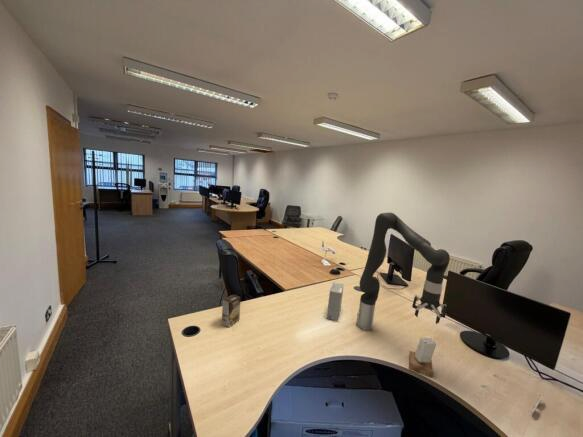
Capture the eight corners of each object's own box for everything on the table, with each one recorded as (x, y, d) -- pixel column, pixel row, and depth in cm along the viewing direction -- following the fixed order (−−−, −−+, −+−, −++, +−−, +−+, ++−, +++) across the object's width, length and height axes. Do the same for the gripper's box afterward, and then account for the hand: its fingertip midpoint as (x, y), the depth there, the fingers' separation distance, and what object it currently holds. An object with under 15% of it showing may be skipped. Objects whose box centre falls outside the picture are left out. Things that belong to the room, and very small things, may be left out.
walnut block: (408, 369, 119) (409, 362, 118) (408, 357, 128) (410, 350, 127) (431, 378, 115) (432, 371, 114) (429, 364, 123) (431, 358, 123)
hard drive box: (337, 322, 154) (341, 293, 151) (326, 319, 156) (329, 291, 153) (340, 310, 169) (344, 283, 165) (330, 307, 171) (333, 281, 167)
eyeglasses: (531, 419, 97) (533, 411, 97) (478, 386, 112) (480, 379, 111) (541, 402, 106) (543, 395, 105) (491, 373, 120) (493, 366, 120)
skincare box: (424, 355, 123) (431, 337, 120) (430, 363, 119) (437, 344, 115) (413, 355, 122) (420, 336, 119) (418, 363, 118) (425, 344, 115)
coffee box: (229, 328, 140) (229, 303, 137) (221, 324, 143) (222, 299, 140) (240, 320, 148) (240, 297, 145) (232, 317, 151) (233, 293, 148)
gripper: (415, 287, 115) (409, 317, 118) (449, 297, 108) (443, 329, 111) (416, 282, 122) (411, 311, 125) (449, 291, 114) (443, 321, 117)
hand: (426, 319), depth 118 cm, fingers open, 8 cm apart
